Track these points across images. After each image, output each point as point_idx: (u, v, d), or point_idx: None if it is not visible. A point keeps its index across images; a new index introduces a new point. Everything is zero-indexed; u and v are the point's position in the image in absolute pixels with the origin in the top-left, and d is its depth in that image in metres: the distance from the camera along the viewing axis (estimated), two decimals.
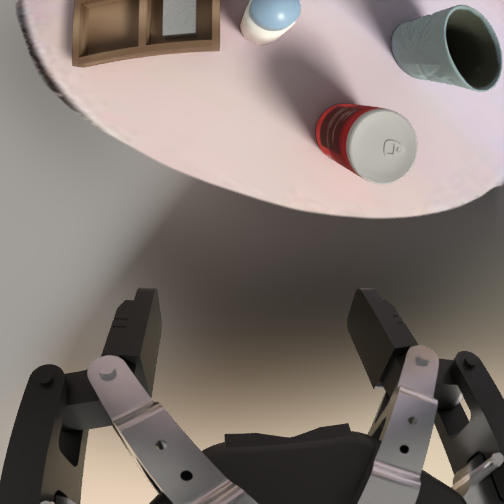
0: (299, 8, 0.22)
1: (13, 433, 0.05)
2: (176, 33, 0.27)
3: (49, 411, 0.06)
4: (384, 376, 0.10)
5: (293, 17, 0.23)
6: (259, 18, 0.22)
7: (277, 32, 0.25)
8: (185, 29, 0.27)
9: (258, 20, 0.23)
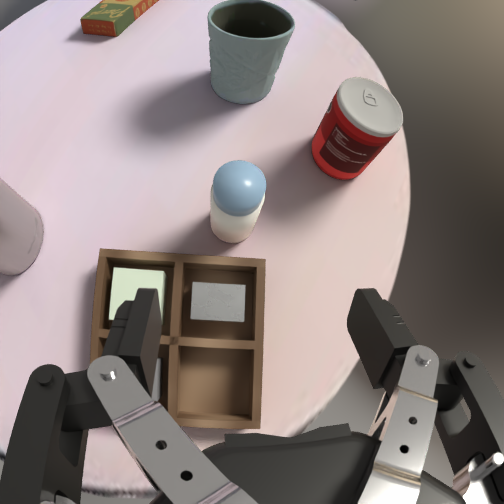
0: (241, 161, 0.27)
1: (13, 433, 0.05)
2: (243, 306, 0.30)
3: (49, 411, 0.06)
4: (384, 376, 0.10)
5: (253, 168, 0.27)
6: (256, 201, 0.26)
7: None
8: (239, 295, 0.30)
9: (257, 203, 0.26)
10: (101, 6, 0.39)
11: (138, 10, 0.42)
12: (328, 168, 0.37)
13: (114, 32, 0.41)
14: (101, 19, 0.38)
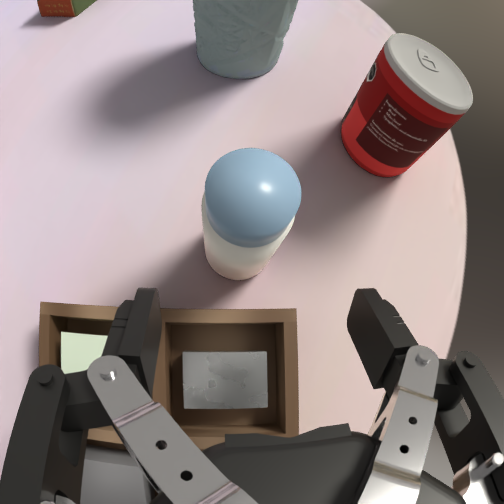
0: (253, 150, 0.15)
1: (13, 433, 0.05)
2: (265, 384, 0.18)
3: (49, 411, 0.06)
4: (384, 376, 0.10)
5: (275, 161, 0.15)
6: (286, 220, 0.14)
7: None
8: (259, 369, 0.18)
9: (287, 225, 0.15)
10: None
11: None
12: (369, 161, 0.25)
13: (72, 11, 0.29)
14: None
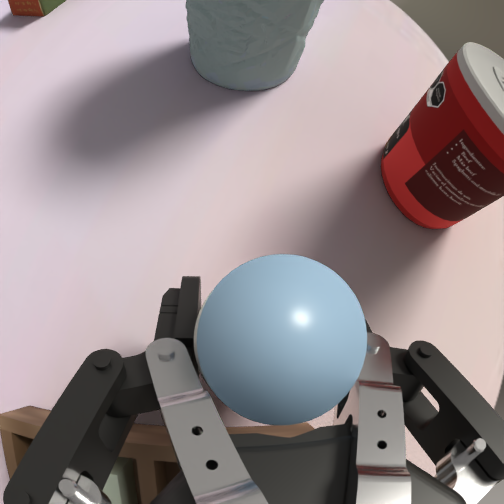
0: (285, 258, 0.08)
1: (55, 408, 0.06)
2: None
3: (98, 395, 0.07)
4: None
5: (325, 279, 0.08)
6: (340, 394, 0.07)
7: None
8: None
9: (339, 394, 0.08)
10: None
11: None
12: (420, 213, 0.18)
13: (40, 10, 0.22)
14: None
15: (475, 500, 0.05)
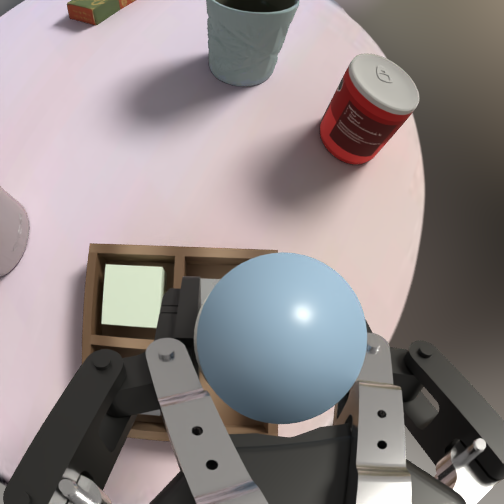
0: (286, 257, 0.08)
1: (55, 408, 0.06)
2: None
3: (98, 395, 0.07)
4: None
5: (325, 278, 0.08)
6: (340, 393, 0.07)
7: None
8: None
9: (339, 393, 0.08)
10: None
11: None
12: (339, 151, 0.33)
13: (93, 20, 0.36)
14: (82, 6, 0.34)
15: (475, 500, 0.05)
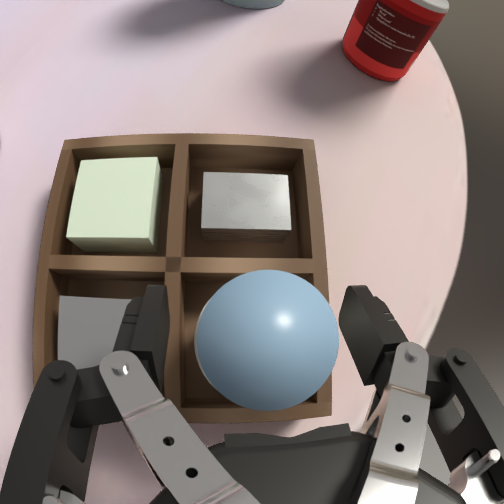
0: (270, 273, 0.10)
1: (21, 427, 0.05)
2: (287, 205, 0.19)
3: (59, 407, 0.06)
4: (374, 372, 0.10)
5: (303, 290, 0.10)
6: (316, 386, 0.09)
7: None
8: (280, 190, 0.19)
9: (316, 386, 0.10)
10: None
11: None
12: (368, 63, 0.25)
13: None
14: None
15: None
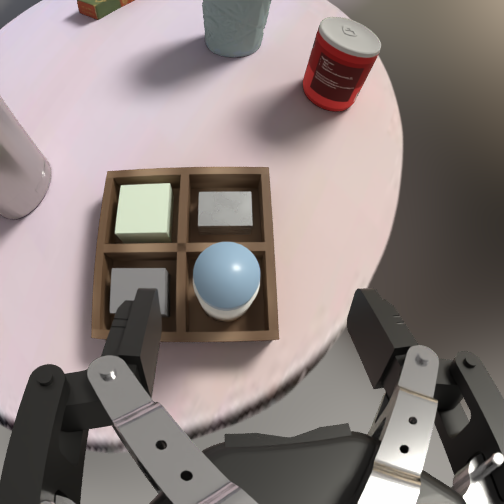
0: (227, 243, 0.22)
1: (13, 433, 0.05)
2: (250, 210, 0.30)
3: (49, 411, 0.06)
4: (384, 376, 0.10)
5: (242, 251, 0.22)
6: (248, 296, 0.21)
7: None
8: (246, 201, 0.30)
9: (250, 298, 0.21)
10: None
11: None
12: (320, 99, 0.37)
13: (96, 15, 0.42)
14: (88, 2, 0.40)
15: None
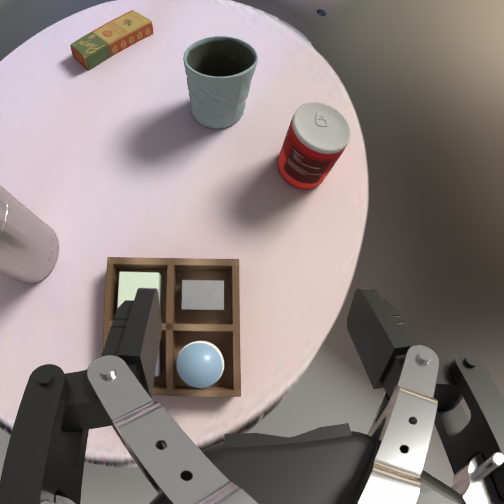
0: (199, 344, 0.30)
1: (13, 433, 0.05)
2: (223, 297, 0.38)
3: (49, 411, 0.06)
4: (384, 376, 0.10)
5: (210, 350, 0.30)
6: (214, 381, 0.29)
7: (222, 359, 0.31)
8: (219, 289, 0.38)
9: (215, 381, 0.29)
10: (90, 36, 0.48)
11: (116, 47, 0.50)
12: (292, 180, 0.45)
13: (87, 66, 0.48)
14: (79, 52, 0.46)
15: None
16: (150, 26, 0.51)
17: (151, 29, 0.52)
